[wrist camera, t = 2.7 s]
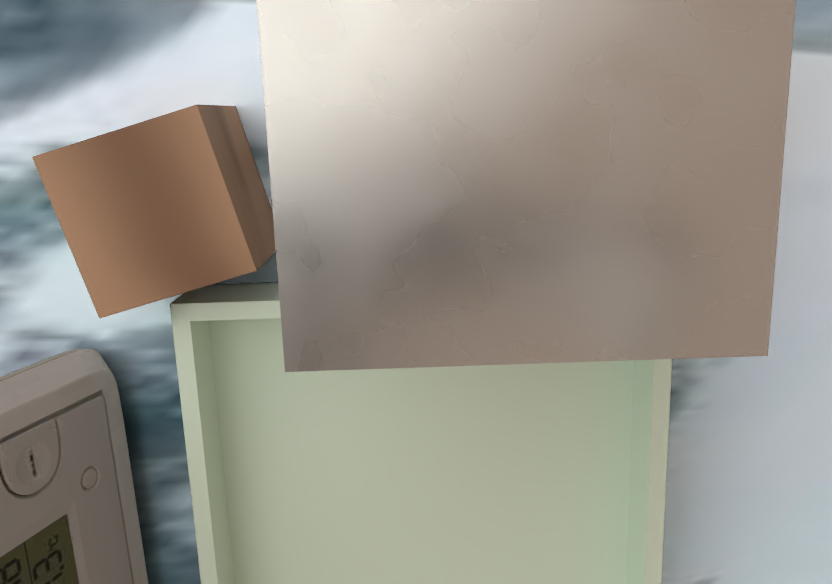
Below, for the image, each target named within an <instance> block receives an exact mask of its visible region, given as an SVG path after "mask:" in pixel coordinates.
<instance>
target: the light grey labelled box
mask: <svg viewBox="0 0 832 584" xmlns="http://www.w3.org/2000/svg"><path fill="white" fill-rule="evenodd" d="M795 3H796V0H257V13H258V26H259V39H260V52H261V65H262V78H263V92H264V105H265V118H266V131H267V144H268V157H269V170H270V183H271V196H272V209H273V222H274V235H275V248H276V261H277V274H278V287H279V300H280V313H281V326H282V339H283V352H284V365H285V372H303V371H333V370H362V369H391V368H421V367H450V366H479V365H509V364H538V363H567V362H597V361H626V360H655V359H685V358H714V357H743V356H768V345H769V333H770V320H771V307H772V295H773V282H774V269H775V257H776V244H777V231H778V219H779V206H780V193H781V181H782V168H783V155H784V143H785V130H786V117H787V105H788V92H789V79H790V67H791V54H792V41H793V29H794V16H795Z"/></svg>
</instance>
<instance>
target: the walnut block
mask: <svg viewBox="0 0 832 584" xmlns="http://www.w3.org/2000/svg"><path fill="white" fill-rule="evenodd" d="M32 158H33V160H34V163H35V165H36V167H37V170H38V172H39V174H40V177H41V179H42V182H43V184H44V186H45V189H46V191H47V194H48V196H49V198H50V201H51V203H52V206H53V208H54V210H55V213H56V215H57V218H58V220H59V222H60V225H61V227H62V230H63V232H64V234H65V237H66V239H67V242H68V244H69V246H70V249H71V251H72V254H73V256H74V258H75V261H76V263H77V266H78V268H79V270H80V273H81V275H82V278H83V280H84V282H85V285H86V287H87V290H88V292H89V294H90V297H91V299H92V302H93V304H94V306H95V309H96V311H97V314H98V316H99V318H102V317H106V316H109V315H112V314H116V313H119V312H122V311H126V310H129V309H132V308H135V307H139V306H142V305H145V304H149V303H152V302H155V301H159V300H162V299H165V298H168V297H172V296H175V295H178V294H182V293H185V292H188V291H191V290H195V289H198V288H201V287H205V286H208V285H211V284H215V283H218V282H221V281H224V280H228V279H231V278H234V277H238V276H241V275H244V274H248V273H251V272H254V271H257V270H258V269H259V268H260V267H261V266H262V265H263V264H264V263H265V261H266V260H267V259H268V258H269V257H270V256H271V255H272V254H273V253H274V252H275V251H276V248H275V235H274V222H273V212H272V209H271V206H270V203H269V201H268V198H267V195H266V192H265V189H264V186H263V183H262V181H261V178H260V175H259V172H258V169H257V166H256V163H255V161H254V158H253V155H252V152H251V149H250V146H249V143H248V140H247V138H246V135H245V132H244V129H243V126H242V123H241V120H240V118H239V115H238V112H237V109H236V106H215V105H194V106H191V107H188V108H185V109H182V110H178V111H175V112H172V113H169V114H166V115H163V116H160V117H156V118H153V119H150V120H147V121H144V122H141V123H138V124H134V125H131V126H128V127H125V128H122V129H119V130H116V131H112V132H109V133H106V134H103V135H100V136H97V137H94V138H90V139H87V140H84V141H81V142H78V143H75V144H72V145H69V146H65V147H62V148H59V149H56V150H53V151H50V152H47V153H43V154H40V155H37V156H34V157H32Z"/></svg>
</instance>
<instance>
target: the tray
mask: <svg viewBox="0 0 832 584" xmlns="http://www.w3.org/2000/svg"><path fill="white" fill-rule="evenodd" d="M170 309H171V318H172V327H173V336H174V345H175V354H176V363H177V372H178V381H179V390H180V399H181V408H182V417H183V426H184V435H185V444H186V453H187V462H188V471H189V480H190V489H191V498H192V507H193V516H194V525H195V534H196V543H197V552H198V561H199V570H200V578H201V584H661V577H662V556H663V536H664V515H665V494H666V473H667V453H668V432H669V411H670V390H671V370H672V359H655V360H626V361H597V362H567V363H538V364H509V365H479V366H450V367H421V368H391V369H362V370H333V371H303V372H285V365H284V352H283V339H282V326H281V313H280V300H279V287H278V282H276V283H246V284H217V285H208V286H205V287H201V288H198V289H195V290H191V291H188V292H185V293H183V294H182V295H181V296H180V297H178V298H177V299H176V300H175V301H173V302H172V303H171V304H170Z"/></svg>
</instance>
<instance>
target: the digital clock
mask: <svg viewBox="0 0 832 584" xmlns="http://www.w3.org/2000/svg"><path fill="white" fill-rule="evenodd" d="M0 584H148V577H147V571H146V564H145V557H144V551H143V544H142V538H141V531H140V524H139V518H138V511H137V504H136V498H135V491H134V485H133V478H132V471H131V465H130V458H129V451H128V445H127V439H126V432H125V426H124V419H123V414H122V408H121V402H120V397H119V391H118V387H117V382H116V380H115V377H114V375H113V373H112V372H111V370H110V369H109V367H108V366H107V364H106V363H105V361H104V360H103V358H102V357H101V355H100V354H99V353H98V352H97V351H95V350H93V349H75V350H70V351H67V352H64V353H61V354H58V355H55V356H52V357H49V358H47V359H44V360H42V361H39V362H37V363H34V364H32V365H29V366H27V367H24V368H22V369H19V370H17V371H14V372H12V373H9V374H7V375H4V376H2V377H0Z"/></svg>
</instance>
